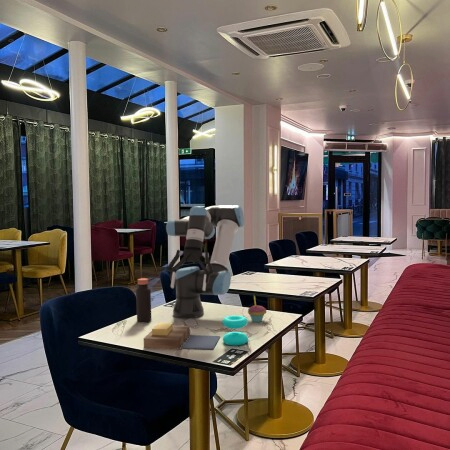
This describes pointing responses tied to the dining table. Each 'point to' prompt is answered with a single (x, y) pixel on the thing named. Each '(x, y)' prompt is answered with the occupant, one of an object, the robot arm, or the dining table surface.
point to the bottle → (143, 301)
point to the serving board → (168, 339)
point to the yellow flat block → (162, 329)
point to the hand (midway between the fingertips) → (187, 289)
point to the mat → (201, 342)
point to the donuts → (235, 323)
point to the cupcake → (256, 312)
